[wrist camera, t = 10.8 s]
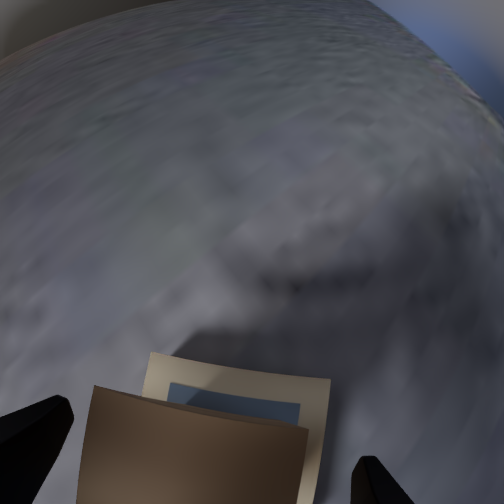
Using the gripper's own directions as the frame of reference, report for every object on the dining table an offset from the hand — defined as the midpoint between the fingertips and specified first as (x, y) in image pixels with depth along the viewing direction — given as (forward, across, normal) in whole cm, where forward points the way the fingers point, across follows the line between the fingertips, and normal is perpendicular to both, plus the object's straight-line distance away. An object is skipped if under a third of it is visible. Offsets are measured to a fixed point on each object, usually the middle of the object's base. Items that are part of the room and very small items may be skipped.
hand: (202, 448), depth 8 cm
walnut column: (+4, 0, +6) cm, 8 cm away
